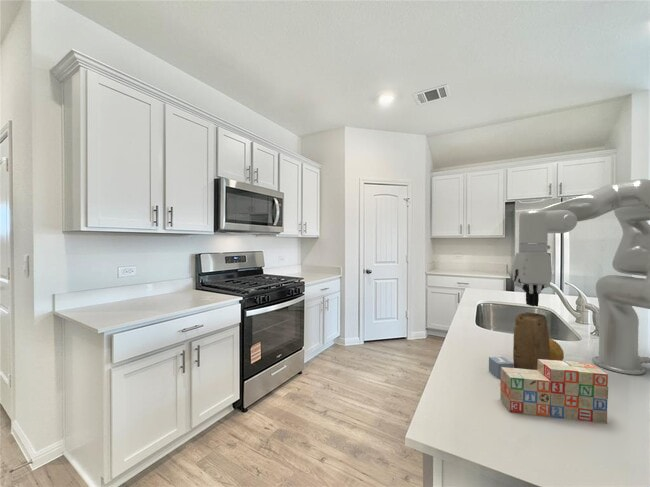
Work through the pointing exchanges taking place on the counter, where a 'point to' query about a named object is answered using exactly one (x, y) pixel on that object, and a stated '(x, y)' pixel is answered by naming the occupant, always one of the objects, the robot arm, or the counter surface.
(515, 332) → the brown rock
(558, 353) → the potato
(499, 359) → the alphabet block
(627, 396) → the counter surface
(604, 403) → the stack of blocks
